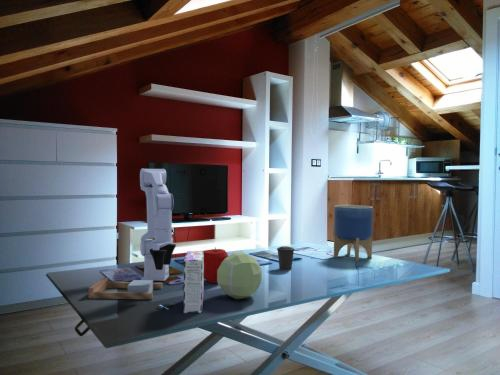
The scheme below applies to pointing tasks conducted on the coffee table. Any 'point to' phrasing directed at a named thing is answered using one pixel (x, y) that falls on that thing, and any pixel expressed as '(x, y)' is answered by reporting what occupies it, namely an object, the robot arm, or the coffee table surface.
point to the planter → (353, 228)
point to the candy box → (193, 281)
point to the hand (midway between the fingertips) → (163, 267)
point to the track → (104, 283)
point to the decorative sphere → (239, 275)
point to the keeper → (141, 286)
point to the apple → (213, 263)
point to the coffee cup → (285, 257)
